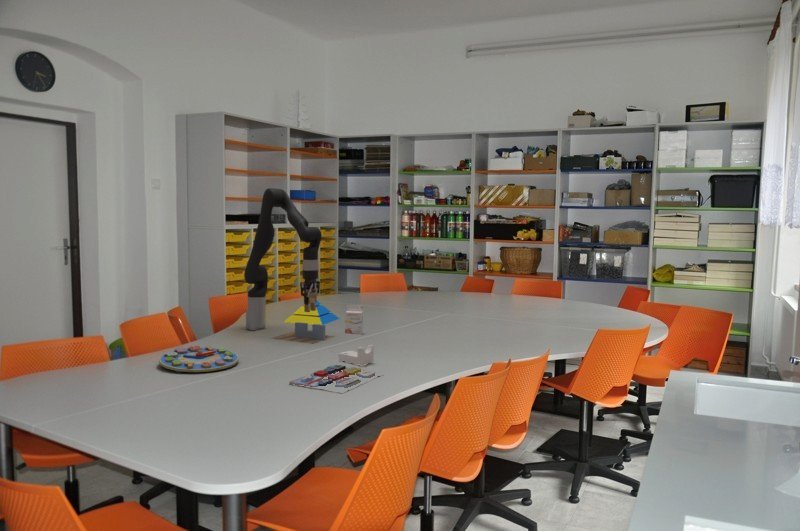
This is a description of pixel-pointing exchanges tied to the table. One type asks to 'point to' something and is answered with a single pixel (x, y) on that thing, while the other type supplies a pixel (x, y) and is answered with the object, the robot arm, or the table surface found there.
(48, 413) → the table surface
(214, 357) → the shape sorting clock
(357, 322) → the ink cartridge box
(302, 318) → the pyramid toy
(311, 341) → the walnut base board
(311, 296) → the oak slotted plate
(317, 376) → the puzzle board
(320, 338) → the slate-blue slotted plate
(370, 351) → the bracket
